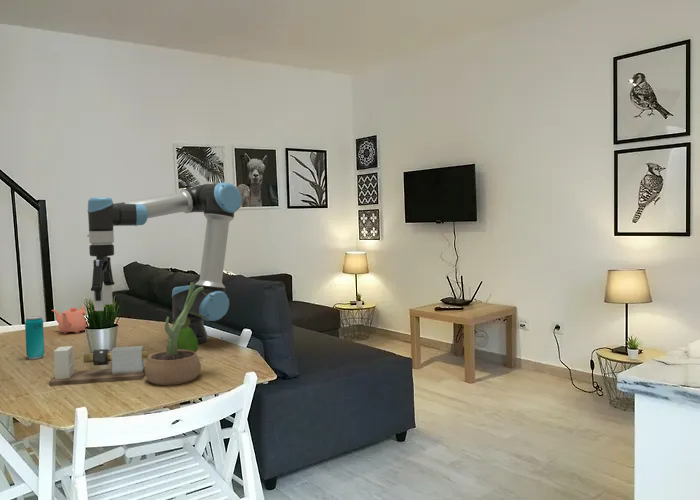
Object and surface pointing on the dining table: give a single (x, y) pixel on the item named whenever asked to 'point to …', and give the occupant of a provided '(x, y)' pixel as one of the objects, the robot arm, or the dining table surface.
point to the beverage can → (34, 337)
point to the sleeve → (127, 360)
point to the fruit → (187, 340)
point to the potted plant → (175, 352)
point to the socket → (63, 362)
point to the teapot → (71, 320)
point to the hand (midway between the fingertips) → (103, 307)
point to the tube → (104, 357)
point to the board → (96, 377)
